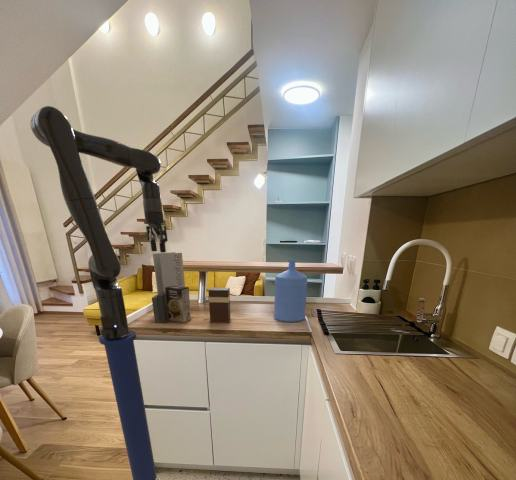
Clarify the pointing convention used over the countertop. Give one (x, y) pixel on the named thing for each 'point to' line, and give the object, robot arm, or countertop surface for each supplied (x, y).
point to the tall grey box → (168, 270)
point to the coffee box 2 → (219, 304)
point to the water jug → (290, 295)
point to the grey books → (160, 308)
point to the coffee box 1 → (178, 303)
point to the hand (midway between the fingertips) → (158, 251)
